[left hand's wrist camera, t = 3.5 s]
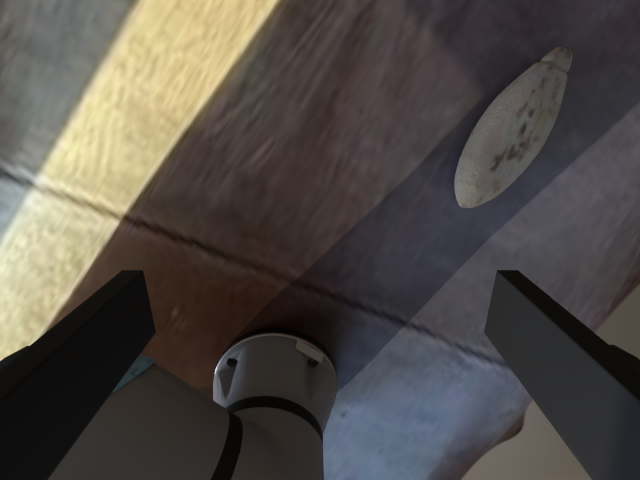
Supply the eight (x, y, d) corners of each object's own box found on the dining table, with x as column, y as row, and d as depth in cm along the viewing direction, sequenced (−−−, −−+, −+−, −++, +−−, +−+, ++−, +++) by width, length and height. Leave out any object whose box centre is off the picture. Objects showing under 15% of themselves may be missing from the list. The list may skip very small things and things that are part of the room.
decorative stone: (580, 66, 31) (610, 61, 28) (481, 215, 36) (497, 225, 33) (525, 33, 30) (550, 24, 27) (431, 191, 35) (443, 199, 32)
